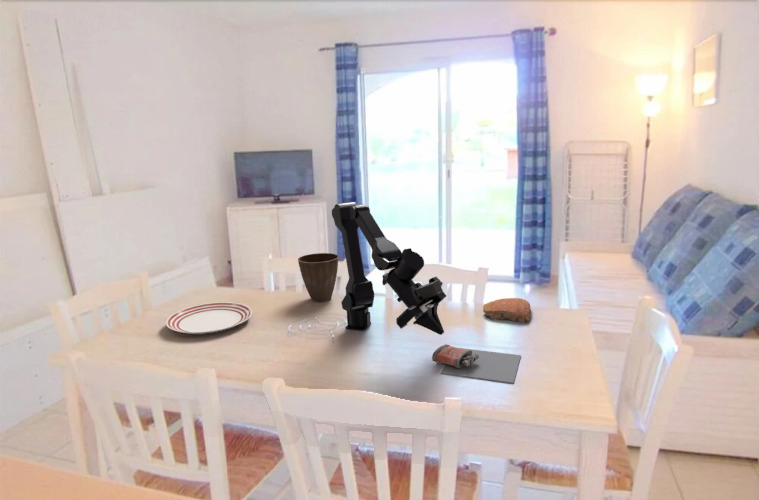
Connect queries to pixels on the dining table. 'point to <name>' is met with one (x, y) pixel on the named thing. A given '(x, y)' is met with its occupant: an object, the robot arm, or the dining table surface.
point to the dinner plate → (209, 317)
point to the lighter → (454, 356)
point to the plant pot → (319, 274)
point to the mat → (488, 367)
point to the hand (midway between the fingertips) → (442, 333)
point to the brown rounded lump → (508, 309)
